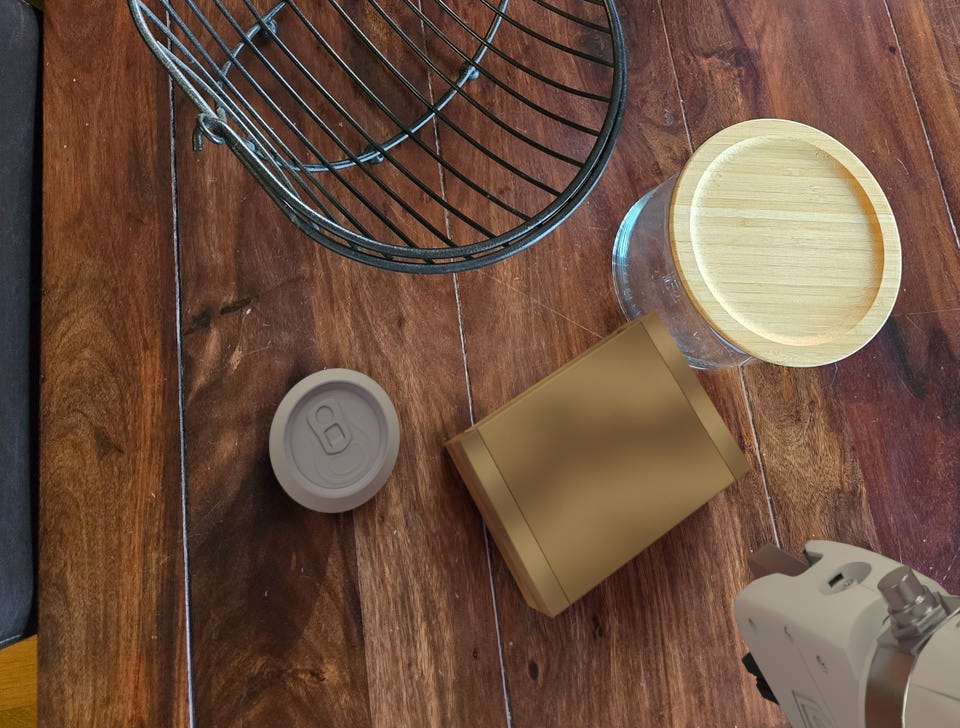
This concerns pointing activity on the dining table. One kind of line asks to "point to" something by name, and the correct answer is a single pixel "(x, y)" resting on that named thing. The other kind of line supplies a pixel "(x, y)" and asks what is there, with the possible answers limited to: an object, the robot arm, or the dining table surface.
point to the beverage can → (334, 440)
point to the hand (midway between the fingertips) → (776, 656)
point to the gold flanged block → (596, 462)
